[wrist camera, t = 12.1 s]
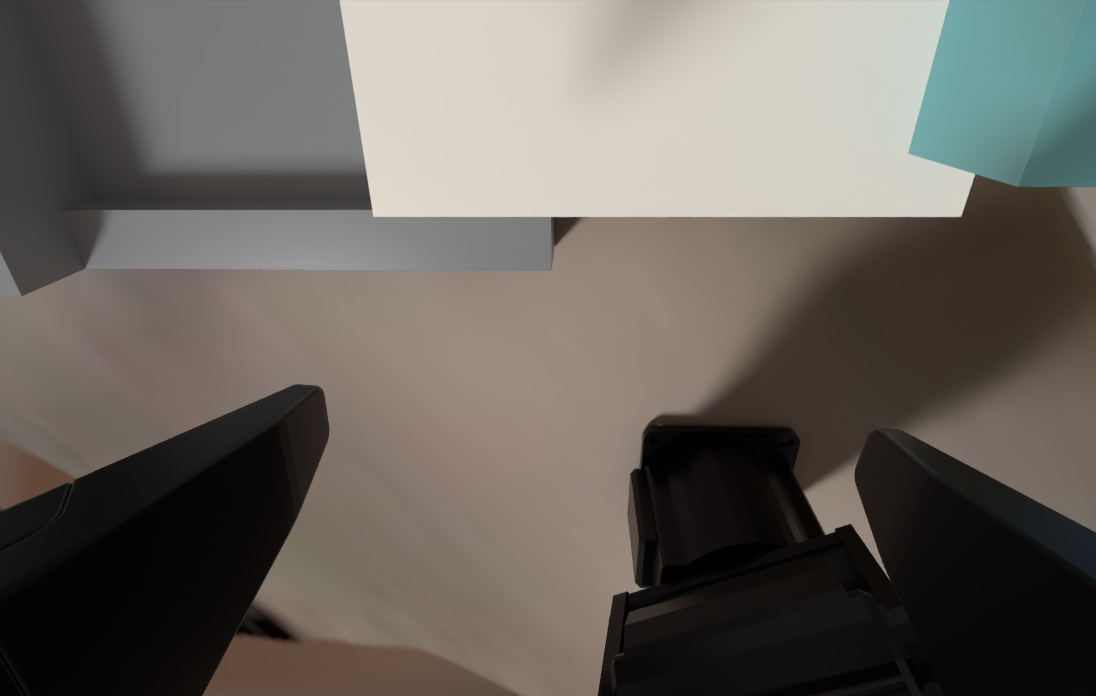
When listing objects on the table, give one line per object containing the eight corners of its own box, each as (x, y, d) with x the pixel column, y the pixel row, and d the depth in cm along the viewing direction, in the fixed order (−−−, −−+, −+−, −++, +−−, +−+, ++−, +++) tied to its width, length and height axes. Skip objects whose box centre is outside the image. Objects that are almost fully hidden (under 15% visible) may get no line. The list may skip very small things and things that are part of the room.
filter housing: (11, 246, 22) (-133, 295, 17) (-223, -255, 15) (-549, -380, 11) (554, 247, 21) (547, 300, 16) (550, -287, 14) (537, -441, 10)
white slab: (408, 189, 19) (313, 264, 12) (362, -175, 14) (175, -375, 8) (893, 188, 18) (1081, 268, 11) (995, -196, 14) (1397, -436, 7)
